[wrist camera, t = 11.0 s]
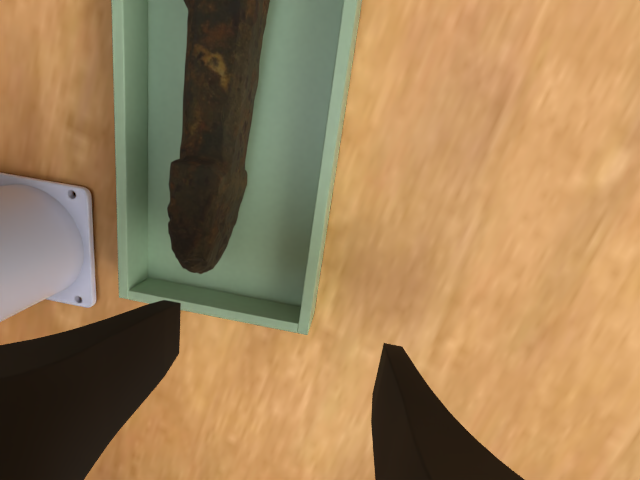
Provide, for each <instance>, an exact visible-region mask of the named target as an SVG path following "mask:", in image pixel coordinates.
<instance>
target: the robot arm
mask: <svg viewBox="0 0 640 480" xmlns="http://www.w3.org/2000/svg"><path fill="white" fill-rule="evenodd" d="M73 191H74V192H75V194H76V197H75V196H74V195H73ZM80 297H81V298H82V300H81V299H80ZM44 299H47V300H52V301H57V302H62V303H67V304H72V305H77V306H82V307H91V306H93V305H94V304H95V303H96V282H95V260H94V238H93V217H92V196H91V192H90V191H89V190H88V189H87V188H85V187H82V186H76V185H70V184H65V183H59V182H53V181H47V180H41V179H36V178H30V177H24V176H18V175H12V174H7V173H1V172H0V322H1V321H3V320H5V319H7V318H9V317H11V316H13V315H15V314H17V313H19V312H21V311H23V310H25V309H27V308H29V307H31V306H33V305H35V304H37V303H39V302H41V301H42V300H44ZM180 307H181V303H178V302H172V301H167V300H162V301H158V302H154V303H151V304H148V305H145V306H142V307H139V308H137V309H134V310H131V311H128V312H125V313H122V314H119V315H117V316H114V317H111V318H108V319H105V320H102V321H99V322H95V323H92V324H89V325H86V326H83V327H80V328H76V329H73V330H69V331H66V332H62V333H58V334H54V335H50V336H46V337H41V338H37V339H32V340H27V341H22V342H16V343H11V344H5V345H0V480H84V479H85V477H86V476H87V474H88V473H89V471H90V470H91V468H92V467H93V465H94V464H95V462H96V461H97V460H98V458H99V457H100V455H101V454H102V452H103V451H104V450H105V448H106V447H107V445H108V444H109V442H110V441H111V440H112V439H113V437H114V436H115V435H116V434H117V432H118V431H119V430H120V429H121V427H122V426H123V425H124V424H125V423H126V421H127V420H128V419H129V418H130V417H131V416H132V414H133V413H134V412H135V411H136V410H137V409H138V407H139V406H140V405H141V404H142V403H143V401H144V400H145V399H146V398H147V397H148V396H149V394H150V393H151V392H152V391H153V390H154V388H155V387H156V386H157V385H158V384H159V382H160V381H161V380H162V379H163V377H164V376H165V375H166V373H167V371H168V370H169V368H170V367H171V365H172V364H173V362H174V360H175V359H176V357H177V356H178V354H179V339H180ZM371 423H372V438H373V452H374V465H375V479H376V480H524V479H523V478H522V477H520V476H519V475H518V474H516V473H515V472H514V471H512V470H511V469H510V468H509V467H507V466H506V465H505V464H504V463H502V462H501V461H500V460H499V459H498V458H496V457H495V456H494V455H493V454H492V453H491V452H490V451H488V450H487V449H486V448H485V447H484V446H483V445H482V444H481V443H479V442H478V441H477V440H476V439H475V438H474V437H473V436H472V435H471V434H470V433H469V432H468V431H467V430H466V429H465V428H464V427H463V426H462V425H461V424H460V423H459V422H458V421H457V420H456V419H455V418H454V417H453V415H452V414H451V413H450V412H449V411H448V410H447V409H446V407H445V406H444V405H443V404H442V403H441V401H440V400H439V399H438V398H437V396H436V395H435V394H434V393H433V391H432V390H431V389H430V387H429V386H428V385H427V383H426V382H425V380H424V379H423V378H422V376H421V375H420V373H419V372H418V370H417V369H416V367H415V366H414V364H413V363H412V361H411V359H410V358H409V356H408V355H407V353H406V352H405V350H404V349H403V347H401V346H396V345H391V344H386V343H384V345H383V350H382V354H381V359H380V363H379V368H378V372H377V377H376V381H375V386H374V390H373V398H372V420H371Z"/></svg>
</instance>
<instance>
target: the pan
mask: <svg viewBox="0 0 640 480" xmlns="http://www.w3.org/2000/svg"><path fill="white" fill-rule="evenodd" d="M111 2H112V41H113V81H114V121H115V160H116V200H117V240H118V279H119V297H120V298H124V299H129V300H134V301H139V302H144V303H149V304H151V303H154V302H158V301H162V300H167V301H172V302H178V303H181V307H180V310H184V311H189V312H194V313H199V314H204V315H209V316H214V317H219V318H224V319H229V320H234V321H239V322H245V323H250V324H255V325H260V326H265V327H270V328H275V329H280V330H285V331H290V332H295V333H300V334H305V335H308V332H309V329H310V326H311V322H312V319H313V316H314V312H315V305H316V298H317V292H318V285H319V279H320V272H321V266H322V259H323V253H324V246H325V240H326V233H327V227H328V220H329V214H330V207H331V200H332V194H333V187H334V181H335V174H336V168H337V161H338V155H339V148H340V142H341V135H342V129H343V122H344V116H345V109H346V102H347V96H348V89H349V83H350V76H351V70H352V63H353V57H354V50H355V44H356V37H357V31H358V24H359V18H360V11H361V4H362V0H270V3H269V8H268V14H267V19H266V27H265V31H264V35H263V42H262V49H261V56H260V64H259V80H258V87H257V92H256V96H255V100H254V108H253V115H252V122H251V128H250V133H249V140H248V146H247V153H246V159H245V170H246V171H247V186H246V189H245V192H244V196H243V200H242V202H241V205H240V208H239V212H238V218H237V222H236V225H235V226H234V228H233V231H232V235H231V237H230V239H229V242H228V245H227V248H226V249H225V251H224V253H223V255H222V257H221V259H220V260H219V262H218V263H217V264H216V265H215V267H214V268H213V269H212V270H209V271H208V272H205V273H203V274H199V273H192V272H189V271H187V269H183V268H182V266H181V265H180V263H179V262H178V259H177V258H176V257H175V254H174V252H173V251H172V249H171V240H170V235H169V233H168V222H169V221H170V219H169V217H168V212H167V207H168V205H169V202H170V191H169V177H170V165H171V162H173V161H174V160H177V159H180V146H181V139H182V122H183V90H184V75H185V58H186V46H187V18H188V8H187V7H186V5H185V2H184V0H111Z"/></svg>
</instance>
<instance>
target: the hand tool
mask: <svg viewBox="0 0 640 480" xmlns="http://www.w3.org/2000/svg"><path fill="white" fill-rule="evenodd" d="M184 2H185V5H186V7H187V8H188V18H187V46H186V58H185V75H184V90H183V122H182V139H181V146H180V159H177V160H174V161H173V162H171V165H170V177H169V191H170V202H169V205H168V207H167V212H168V217H169V219H170V221H169V222H168V233H169V235H170V240H171V249H172V251H173V252H174V254H175V257H176V258H177V259H178V262H179V263H180V265H181V266H182V268H183V269H187V271H189V272H192V273H199V274H203V273H205V272H208V271H209V270H212V269H213V268H214V267H215V265H216V264H217V263H218V262H219V260H220V259H221V257H222V255H223V253H224V251H225V249H226V248H227V245H228V242H229V239H230V237H231V235H232V231H233V228H234V226H235V225H236V222H237V218H238V212H239V208H240V205H241V202H242V200H243V196H244V192H245V189H246V186H247V171H246V170H245V159H246V153H247V146H248V140H249V133H250V128H251V122H252V115H253V108H254V100H255V96H256V92H257V87H258V80H259V64H260V56H261V49H262V42H263V35H264V31H265V27H266V19H267V14H268V8H269V3H270V0H184Z"/></svg>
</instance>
